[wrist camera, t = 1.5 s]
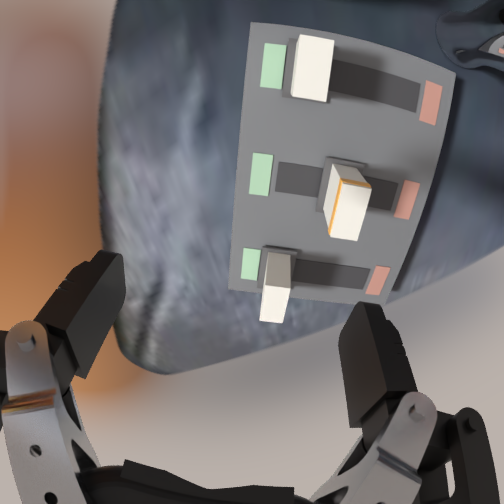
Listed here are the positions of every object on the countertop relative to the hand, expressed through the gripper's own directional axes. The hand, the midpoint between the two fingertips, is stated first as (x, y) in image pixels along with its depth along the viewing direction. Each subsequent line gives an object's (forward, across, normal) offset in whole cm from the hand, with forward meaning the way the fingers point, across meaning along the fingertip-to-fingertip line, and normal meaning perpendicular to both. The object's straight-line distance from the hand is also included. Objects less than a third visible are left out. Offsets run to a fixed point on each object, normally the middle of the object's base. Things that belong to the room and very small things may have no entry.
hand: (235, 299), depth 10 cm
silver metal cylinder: (+19, -16, -18) cm, 30 cm away
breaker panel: (+19, -7, 0) cm, 20 cm away
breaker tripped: (+16, -7, 0) cm, 17 cm away
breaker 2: (+16, -2, -8) cm, 18 cm away
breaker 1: (+16, -4, +10) cm, 19 cm away
